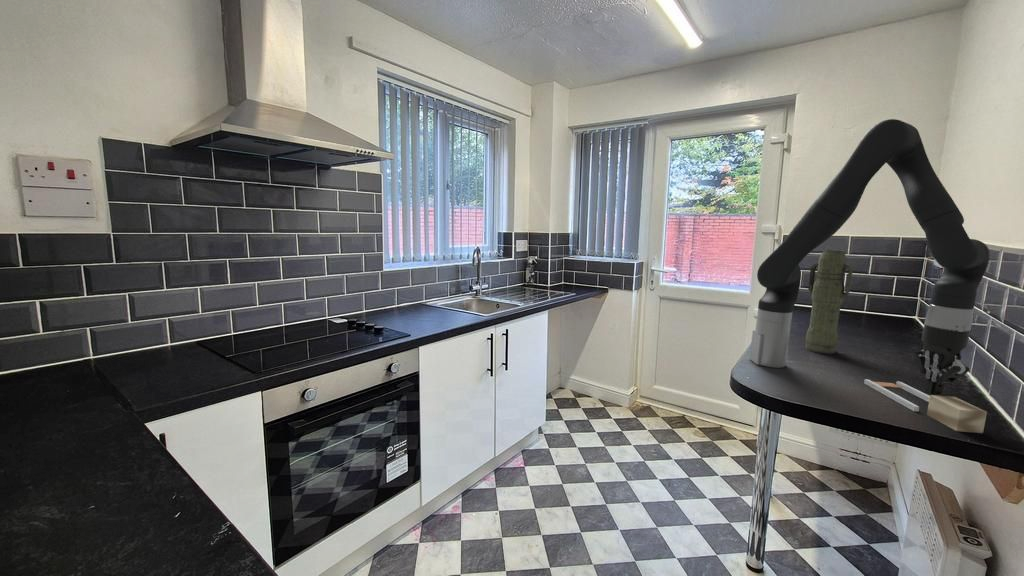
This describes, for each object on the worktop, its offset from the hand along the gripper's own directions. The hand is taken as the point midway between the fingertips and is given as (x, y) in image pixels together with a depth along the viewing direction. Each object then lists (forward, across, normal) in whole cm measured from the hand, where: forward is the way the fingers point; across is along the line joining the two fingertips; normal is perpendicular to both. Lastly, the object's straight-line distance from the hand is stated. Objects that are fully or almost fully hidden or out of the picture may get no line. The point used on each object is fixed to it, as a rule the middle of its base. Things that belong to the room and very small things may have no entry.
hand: (932, 395), depth 101 cm
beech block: (+4, +7, 0) cm, 8 cm away
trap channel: (+4, -8, 0) cm, 9 cm away
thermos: (+4, -50, +1) cm, 50 cm away
